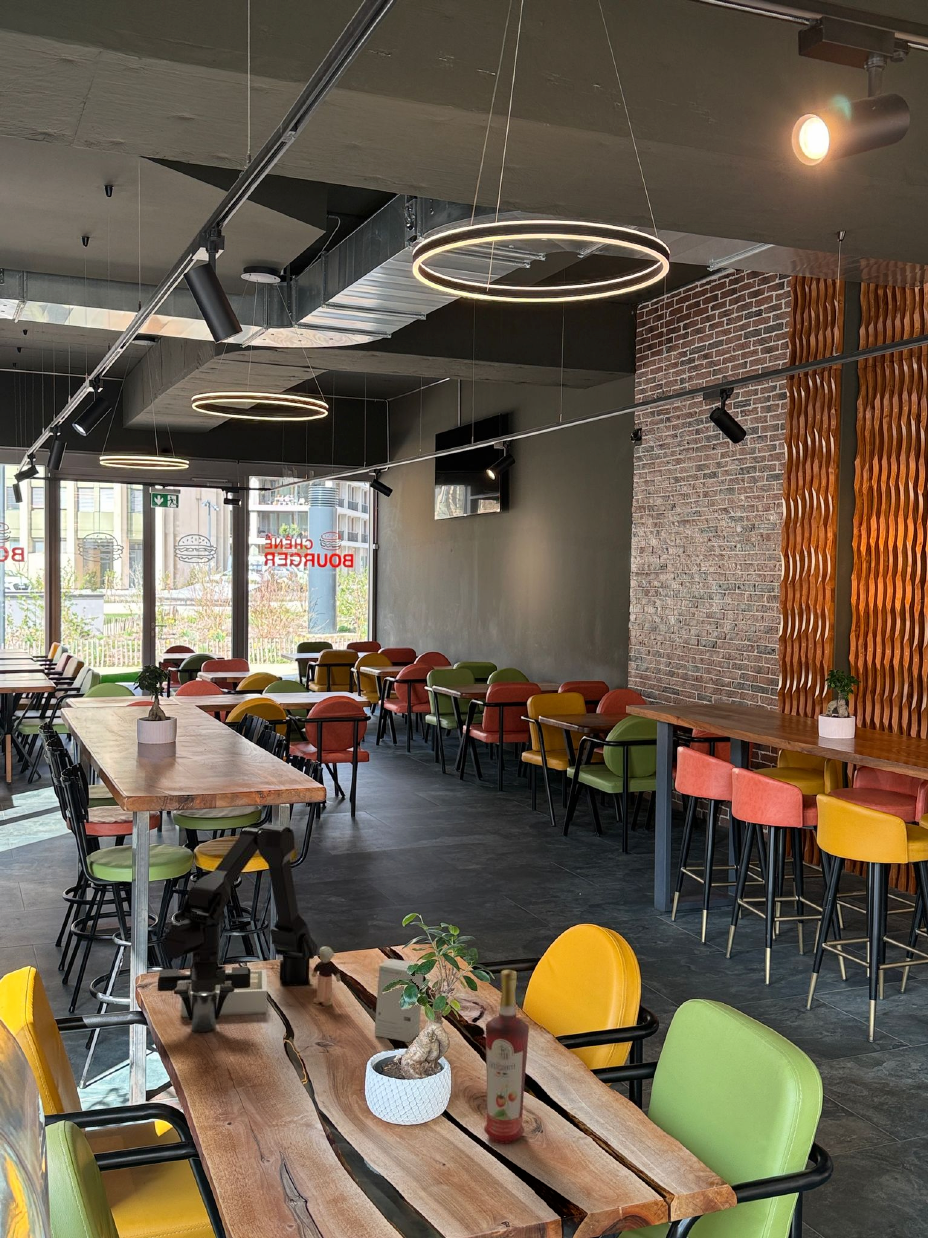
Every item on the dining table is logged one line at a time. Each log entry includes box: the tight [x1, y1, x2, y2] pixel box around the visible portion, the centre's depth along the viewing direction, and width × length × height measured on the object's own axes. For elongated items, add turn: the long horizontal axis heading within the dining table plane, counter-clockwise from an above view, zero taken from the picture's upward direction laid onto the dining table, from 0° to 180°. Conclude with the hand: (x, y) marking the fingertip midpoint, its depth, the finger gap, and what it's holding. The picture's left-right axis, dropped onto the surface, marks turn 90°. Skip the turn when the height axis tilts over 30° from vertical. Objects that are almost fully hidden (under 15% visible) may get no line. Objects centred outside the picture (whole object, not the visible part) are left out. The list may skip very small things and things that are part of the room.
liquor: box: [483, 969, 530, 1144], centre depth 185 cm, size 7×7×28 cm
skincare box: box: [374, 958, 424, 1043], centre depth 228 cm, size 8×6×15 cm
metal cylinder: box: [190, 991, 217, 1033], centre depth 228 cm, size 5×5×7 cm
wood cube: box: [234, 974, 258, 990], centre depth 243 cm, size 5×5×5 cm
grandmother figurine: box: [311, 946, 342, 1006], centre depth 245 cm, size 8×4×13 cm, turn 73°
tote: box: [180, 969, 268, 1018], centre depth 242 cm, size 18×14×5 cm
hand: (203, 1019), depth 228 cm, fingers closed on metal cylinder, 5 cm apart
